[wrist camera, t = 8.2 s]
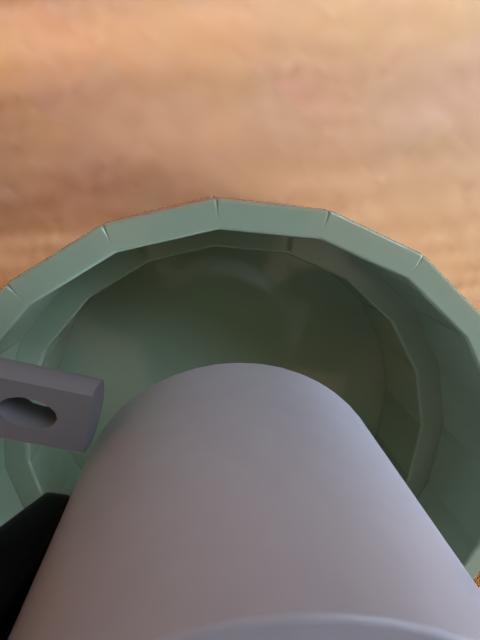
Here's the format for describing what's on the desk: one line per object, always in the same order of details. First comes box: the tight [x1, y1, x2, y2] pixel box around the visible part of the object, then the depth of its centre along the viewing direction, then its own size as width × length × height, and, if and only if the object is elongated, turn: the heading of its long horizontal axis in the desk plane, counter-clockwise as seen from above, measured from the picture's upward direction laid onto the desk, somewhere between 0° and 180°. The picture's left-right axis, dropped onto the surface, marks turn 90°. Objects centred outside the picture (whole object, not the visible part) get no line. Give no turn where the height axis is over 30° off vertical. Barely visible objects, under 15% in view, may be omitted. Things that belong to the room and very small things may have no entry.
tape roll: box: [7, 363, 480, 640], centre depth 6 cm, size 6×6×5 cm
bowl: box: [0, 196, 480, 581], centre depth 11 cm, size 12×12×5 cm
